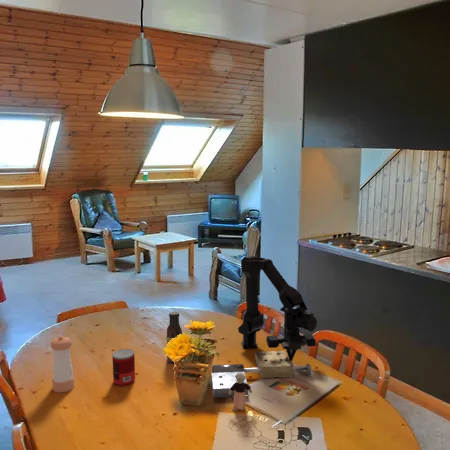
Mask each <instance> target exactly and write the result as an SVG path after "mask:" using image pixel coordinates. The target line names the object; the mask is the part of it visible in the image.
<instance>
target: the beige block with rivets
mask: <svg viewBox="0 0 450 450" xmlns="http://www.w3.org/2000/svg"><path fill="white" fill-rule="evenodd" d="M254 359H255V363H256V366H257V368H261V372H258V373H259V375H260V378H261V379H272V378H273V379H274V377H279V378H291V377H290V376H293V377H294V371H293V366H294V364H293V361H292V362H291V361H289V358H288V355H287V352H286V350H271V351H270V350H269V351H255V352H254Z"/></svg>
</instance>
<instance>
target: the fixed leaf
mask: <svg viewBox="0 0 450 450" xmlns="http://www.w3.org/2000/svg"><path fill="white" fill-rule="evenodd" d="M212 365H213V367H212V373H211V372H210V377H211V387H212V397H213V398H214V399H215V398H216V399H218V398H219V397H220V398H231V397H230V396H234V393H235V390H233V391H232V393H231V394H230V395H229V394H228V392H229V390H230V388H231V387H232V386H233V385H234V383H236V382H237V380H236V374H237V373H240V372H241V373H243V374H244V375H245V376H246V374H247V373H248V374H249V373H259V372H261V368H258V367H244V366H245V365H244V364H243V363H238V364H235V363H233V364H212ZM298 371H299V372H301V371H302V372H303V371H305V374H306V373H307V374H306V375H308V376H307V377H311V376H312V366H311V365H310V364H309V363H306V364H305V365H300V366H298V365H295V366H294V365H293V372H298ZM310 375H311V376H310ZM244 383H246V384H248V381H247V378H245V380H244ZM245 395H248V396H249V391H248V390H247V389H245Z"/></svg>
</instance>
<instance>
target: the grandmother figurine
mask: <svg viewBox="0 0 450 450" xmlns="http://www.w3.org/2000/svg"><path fill="white" fill-rule="evenodd" d="M245 378H246V374H245V375H244V374H243V373H241V372H240V373H237V374H236V380H237V382H236V383H234V385H233V386H232V387H231V388H230V390H229V392H228V394H229V395H230V394H231V393H232V391H233V390H235V393H234V397H233V407H232V408H231V410H232V412H238V411H239V410H240V411H241V412H243V411H246V410H247V408H246V407H245V406H246V396H245V389H247V390H248V394H249V393H250V394H252V393H253V390H252V387H251V385H249V384H248V383H247V384H246V383H244V380H245ZM246 379H247V378H246Z"/></svg>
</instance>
